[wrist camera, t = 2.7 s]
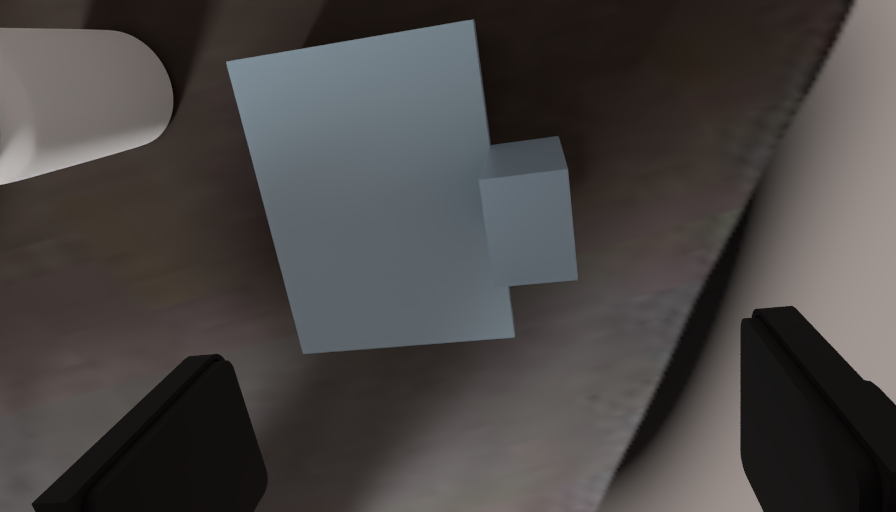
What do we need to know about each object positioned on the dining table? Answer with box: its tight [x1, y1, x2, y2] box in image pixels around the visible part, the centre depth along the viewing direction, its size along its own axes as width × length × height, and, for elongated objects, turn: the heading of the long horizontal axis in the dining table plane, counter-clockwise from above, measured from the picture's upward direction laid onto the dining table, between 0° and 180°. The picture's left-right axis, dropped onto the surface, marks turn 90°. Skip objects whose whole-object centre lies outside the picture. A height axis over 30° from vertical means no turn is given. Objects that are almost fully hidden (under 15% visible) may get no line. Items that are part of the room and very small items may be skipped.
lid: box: [226, 19, 578, 354], centre depth 25 cm, size 15×14×8 cm
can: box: [0, 28, 173, 185], centre depth 29 cm, size 6×6×12 cm
